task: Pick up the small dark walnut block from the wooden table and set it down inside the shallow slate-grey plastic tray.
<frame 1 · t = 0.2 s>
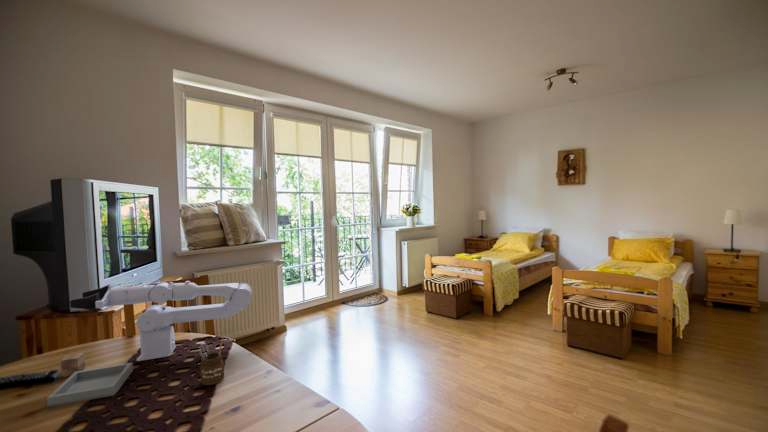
hand: (77, 299, 106), 21 cm above the table, fingers open, 7 cm apart
walnut block: (74, 372, 104), on the table
tray: (94, 387, 95), on the table
utensil holder: (213, 380, 97), on the table
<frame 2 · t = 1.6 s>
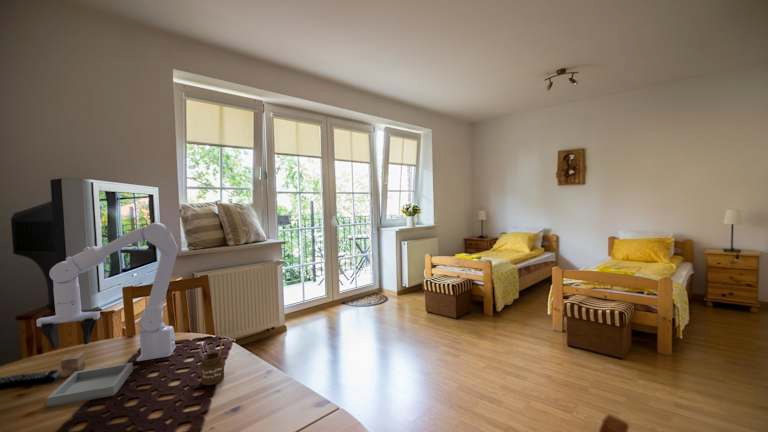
hand: (71, 345, 103), 8 cm above the table, fingers open, 7 cm apart
nothing on the table moved.
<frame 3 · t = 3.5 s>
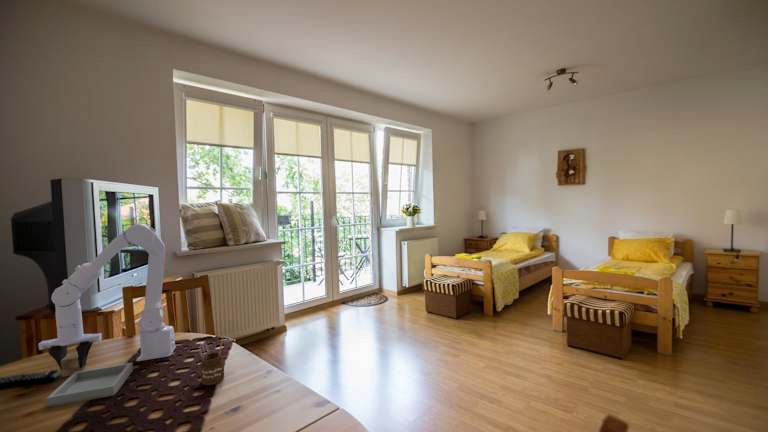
hand: (73, 367, 104), 1 cm above the table, fingers closed on walnut block, 4 cm apart
walnut block: (73, 372, 104), on the table, touching gripper
everything else where it was.
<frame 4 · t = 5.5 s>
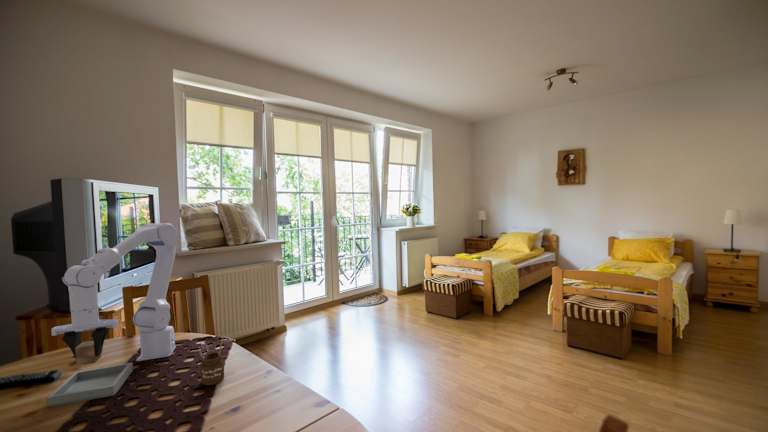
hand: (88, 355, 96), 8 cm above the table, fingers closed on walnut block, 4 cm apart
walnut block: (89, 361, 96), point 7 cm above the table, touching gripper
everything else where it was.
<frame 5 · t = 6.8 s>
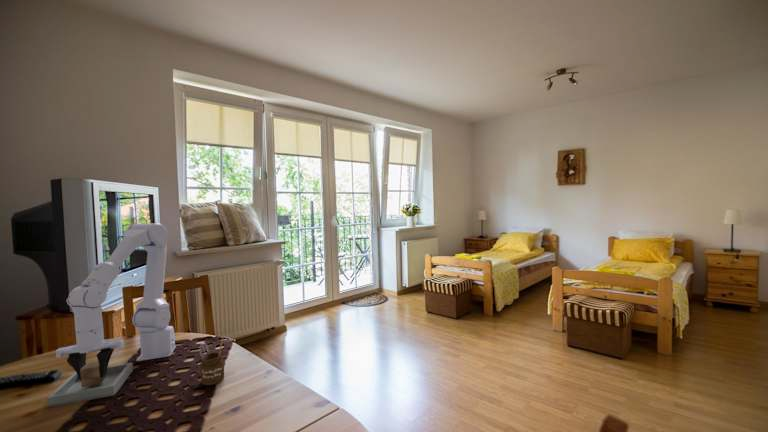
hand: (93, 377, 95), 3 cm above the table, fingers closed on walnut block, 4 cm apart
walnut block: (94, 382, 95), point 1 cm above the table, touching gripper
everything else where it was.
when the fingers open (3 cm above the table, at t = 7.6 s): walnut block stays where it is, resting on tray.
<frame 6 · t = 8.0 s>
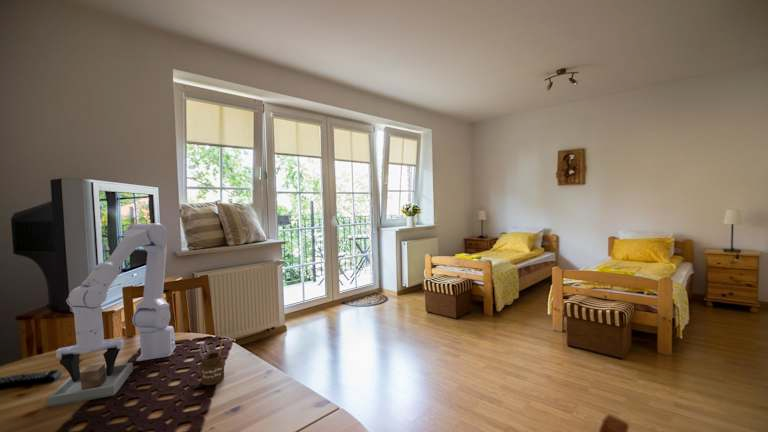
hand: (93, 377, 95), 3 cm above the table, fingers open, 7 cm apart
walnut block: (94, 385, 95), resting on tray
everything else where it was.
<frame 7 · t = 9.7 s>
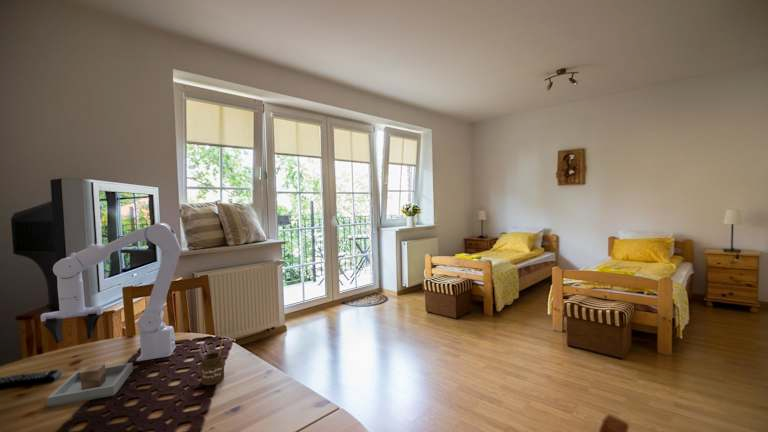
hand: (75, 340, 105), 9 cm above the table, fingers open, 7 cm apart
nothing on the table moved.
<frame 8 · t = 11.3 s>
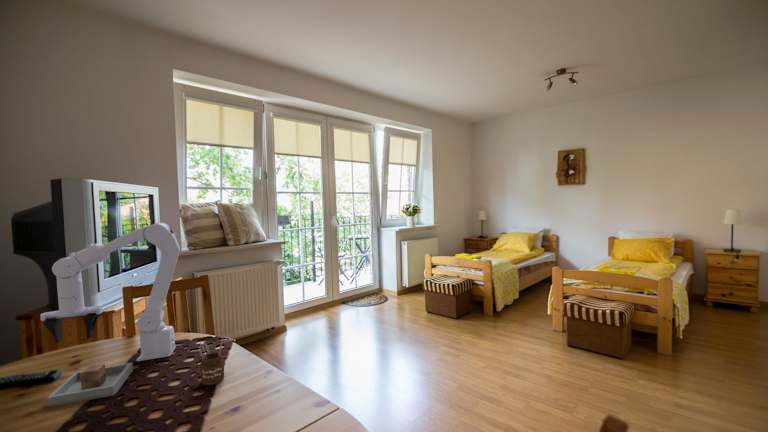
hand: (74, 339, 105), 9 cm above the table, fingers open, 7 cm apart
nothing on the table moved.
at the end: walnut block inside the target area on the tray (0.0 cm from its centre), point 0.5 cm above the tray's base; walnut block tilted 0°; the gripper is holding nothing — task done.
